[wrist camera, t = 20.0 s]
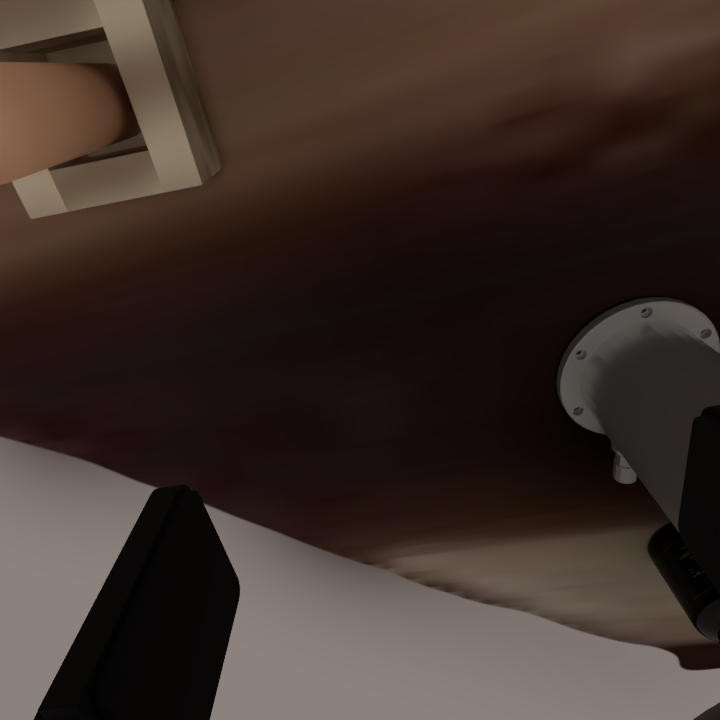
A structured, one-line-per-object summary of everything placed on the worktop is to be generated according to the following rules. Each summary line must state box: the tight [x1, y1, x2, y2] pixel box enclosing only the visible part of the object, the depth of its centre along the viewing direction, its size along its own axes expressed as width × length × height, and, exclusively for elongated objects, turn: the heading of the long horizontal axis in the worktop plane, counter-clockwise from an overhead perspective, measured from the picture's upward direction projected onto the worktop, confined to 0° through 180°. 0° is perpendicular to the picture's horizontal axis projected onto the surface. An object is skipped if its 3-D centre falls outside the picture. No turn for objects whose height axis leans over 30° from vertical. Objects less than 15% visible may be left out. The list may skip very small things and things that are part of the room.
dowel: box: [0, 62, 142, 185], centre depth 24 cm, size 4×4×14 cm
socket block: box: [0, 0, 223, 219], centre depth 28 cm, size 10×10×6 cm
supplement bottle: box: [649, 524, 720, 645], centre depth 47 cm, size 7×7×12 cm
